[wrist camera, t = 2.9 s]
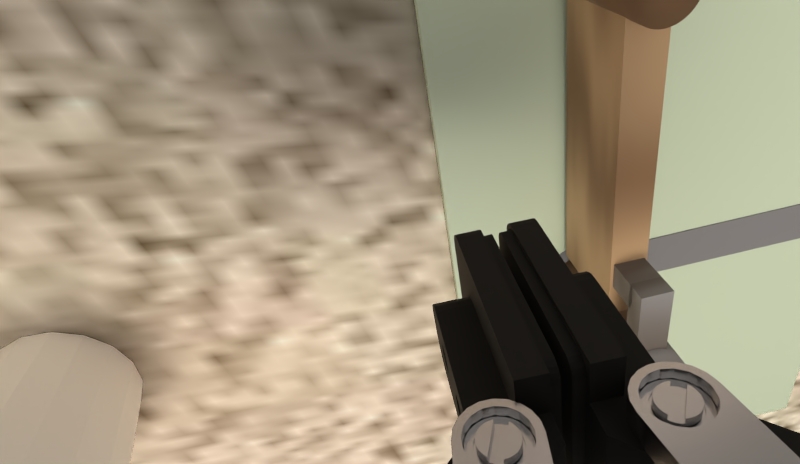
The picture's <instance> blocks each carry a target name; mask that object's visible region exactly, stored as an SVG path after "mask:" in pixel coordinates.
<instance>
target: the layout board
mask: <svg viewBox="0 0 800 464" xmlns="http://www.w3.org/2000/svg"><path fill="white" fill-rule="evenodd" d="M414 4H415V11H416V18H417V25H418V32H419V39H420V46H421V53H422V60H423V67H424V74H425V81H426V88H427V95H428V102H429V109H430V116H431V123H432V130H433V136H434V143H435V150H436V157H437V164H438V171H439V178H440V185H441V192H442V199H443V206H444V213H445V220H446V227H447V234H448V241H449V248H450V255H451V262H452V269H453V275H454V282H455V289H456V296H457V299H461V298H462V294H461V286H460V279H459V272H458V265H457V258H456V251H455V244H454V235H457V234H462V233H466V232H471V231H476V230H481V231H482V233H483V235H484V236H486V235H490V234H492V235H493V237H494V239H495V240H496V242H497V244H498V246H499V233H500V232H504V231H507V224H508V223H513V222H518V221H522V220H527V219H532V218H535V219H536V220H537V221H538V223H539V224H540V226H541V227H542V229H543V230H544V232H545V233H546V235H547V236H548V238H549V239H550V241H551V242H552V244H553V245H554V247H555V249H556V250H557V252H558V253H559V255H560V256H561V258H562V259H563V261H564V262H565V263H566V262H567V261H569V258H568V257H567V255H566V183H567V0H414ZM647 261H648V262H649V263H650V265H651V266H652V267H653V268H654V269H655V270H656V271H657V272H658V273H659V274H660V276H661V277H662V278H663V279H664V280H665V281H666V282H667V283H668V284H669V285H670V287H671V288H672V289H673V290H674V298H673V305H672V312H671V319H670V326H669V333H668V340H667V341H668V343H669V344H670V345H671V347H672V348H673V349H674V350H675V352H676V353H677V354H678V355H679V357H680V358H681V359H682V360H683V362H684V363H685V364H688V365H692V366H694V367H696V368H699V369H701V370H703V371H705V372H707V373H708V374H710V375H711V376H712V377H714V378H715V379H716V380H718V381H719V382H720V383H721V384H722V385H723V386H724V387H725V388H726V389H728V390H729V391H730V392H731V393H732V394H733V395H734V396H735V397H736V398H737V399H738V400H739V401H740V402H741V403H742V404H743V405H744V406H745V407H747V408H748V409H749V410H750V411H751V412H752V413H753V414H754V415H755V416H756V415H760V414H764V413H768V412H772V411H776V410H780V409H784V408H786V407H787V404H788V401H789V398H790V395H791V392H792V389H793V386H794V383H795V380H796V377H797V375H798V372H799V369H800V0H700V1H699V2H698V4H697V5H696V7H695V8H694V9H693V11H692V12H691V13H690V14H689V15H688V16H687V17H686V18H685V19H683V20H682V21H681V22H679V23H677V24H676V25H674V26H671V33H670V43H669V53H668V62H667V72H666V81H665V91H664V101H663V110H662V120H661V130H660V139H659V149H658V159H657V168H656V178H655V187H654V197H653V207H652V216H651V226H650V236H649V245H648V255H647Z"/></svg>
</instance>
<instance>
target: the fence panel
mask: <svg viewBox="0 0 800 464" xmlns="http://www.w3.org/2000/svg"><path fill="white" fill-rule="evenodd" d="M699 1H700V0H567V183H566V255H567V257H568V258H569V260H570V261H571V262H572V264H573V265H574V267H575V268H576V270H577V271H578V272H579V273H581V272H585V271H587V272H590V273H591V274H592V275H593V276H594V277H595V279H596V280H597V282H598V283H599V284H600V286H601V287H602V289H603V290H604V291H605V293H606V294H607V296H608V297H609V298H610V300H611V301H612V303H613V304H614V305H615V307H616V308H617V310H618V311H624V310H628V311H627V324H628V325H629V326H630V328H631V329H632V331H633V332H634V333H635V335H636V336H637V338H638V339H639V340H640V342H641V343H642V345H643V346H644V347H645V349H646V350H647V352H648V353H649V354H650V356H651V357H652V359H653V360H654V361H655V363H657V362H679V363H683V364H685V363H684V362H683V360H682V359H681V358H680V357H679V355H678V354H677V353H676V352H675V350H674V349H673V348H672V347H671V345H670V344H669V343H668V341H667V340H668V333H669V326H670V319H671V312H672V305H673V298H674V290H673V289H672V288H671V287H670V285H669V284H668V283H667V282H666V281H665V280H664V279H663V278H662V277H661V276H660V274H659V273H658V272H657V271H656V270H655V269H654V268H653V267H652V266H651V265H650V263H649V262H648V261H647V255H648V245H649V236H650V226H651V216H652V207H653V197H654V187H655V178H656V168H657V159H658V149H659V139H660V130H661V120H662V110H663V101H664V91H665V81H666V72H667V62H668V53H669V43H670V33H671V26H674V25H676V24H677V23H679V22H681V21H682V20H683V19H685V18H686V17H687V16H688V15H689V14H690V13H691V12H692V11H693V9H694V8H695V7H696V5H697V4H698V2H699Z"/></svg>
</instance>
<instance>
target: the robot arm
mask: <svg viewBox="0 0 800 464" xmlns="http://www.w3.org/2000/svg"><path fill="white" fill-rule="evenodd" d="M454 244H455V251H456V258H457V265H458V272H459V279H460V286H461V294H462V298H461V299H456V300H451V301H447V302H442V303H437V304H433V312H434V318H435V323H436V329H437V334H438V339H439V344H440V349H441V353H442V357H443V362H444V366H445V370H446V374H447V377H448V381H449V385H450V389H451V392H452V396H453V400H454V404H455V407H456V411H457V415H458V418H457V420H456V422H455V424H454V426H453V428H452V437H451V446H452V458H451V460H450V461H449V462H448V464H800V433H797V432H794V431H792V430H789V429H786V428H783V427H781V426H778V425H775V424H772V423H769V422H767V421H764V420H761V419H758V418H757V417H756V416H755V415H754V414H753V413H752V412H751V411H750V410H749V409H748V408H747V407H745V406H744V405H743V404H742V403H741V402H740V401H739V400H738V399H737V398H736V397H735V396H734V395H733V394H732V393H731V392H730V391H729V390H728V389H726V388H725V387H724V386H723V385H722V384H721V383H720V382H719V381H718V380H716V379H715V378H714V377H712V376H711V375H710V374H708V373H707V372H705V371H703V370H701V369H699V368H696V367H694V366H692V365H688V364H683V363H679V362H657V363H655V361H654V360H653V359H652V357H651V356H650V354H649V353H648V352H647V350H646V349H645V347H644V346H643V345H642V343H641V342H640V340H639V339H638V338H637V336H636V335H635V333H634V332H633V331H632V329H631V328H630V326H629V325H628V324H627V322H626V321H625V319H624V318H623V317H622V315H621V314H620V312H619V311H618V310H617V308H616V307H615V305H614V304H613V303H612V301H611V300H610V298H609V297H608V296H607V294H606V293H605V291H604V290H603V289H602V287H601V286H600V284H599V283H598V282H597V280H596V279H595V277H594V276H593V275H592V274H591V273H590V272H587V271H585V272H581V273H576V274H572V273H571V271H570V270H569V268H568V267H567V265H566V264H565V262H564V261H563V259H562V258H561V256H560V255H559V253H558V252H557V250H556V249H555V247H554V245H553V244H552V242H551V241H550V239H549V238H548V236H547V235H546V233H545V232H544V230H543V229H542V227H541V226H540V224H539V223H538V221H537V220H536V219H535V218H532V219H527V220H522V221H518V222H513V223H508V224H507V231H504V232H500V233H499V246H498V244H497V242H496V240H495V239H494V237H493V235H492V234H490V235H486V236H484V235H483V233H482V231H481V230H476V231H471V232H466V233H462V234H457V235H454Z"/></svg>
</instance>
